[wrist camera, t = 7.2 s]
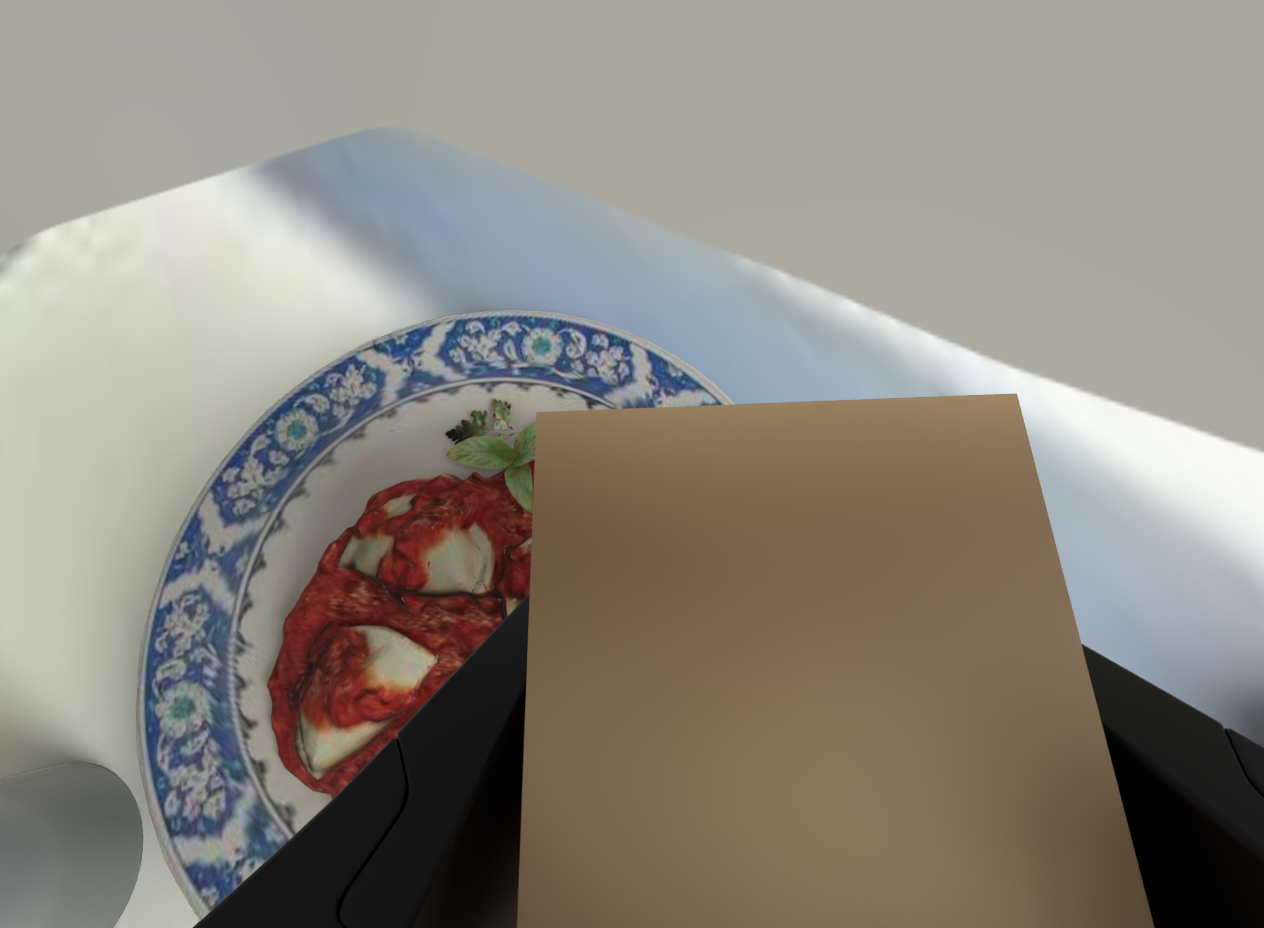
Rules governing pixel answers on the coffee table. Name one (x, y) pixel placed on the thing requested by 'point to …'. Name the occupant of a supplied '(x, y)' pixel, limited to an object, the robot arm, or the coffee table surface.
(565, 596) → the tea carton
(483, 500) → the ceramic plate
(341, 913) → the robot arm
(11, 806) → the grey tapered cylinder
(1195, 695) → the coffee table surface
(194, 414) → the coffee table surface
